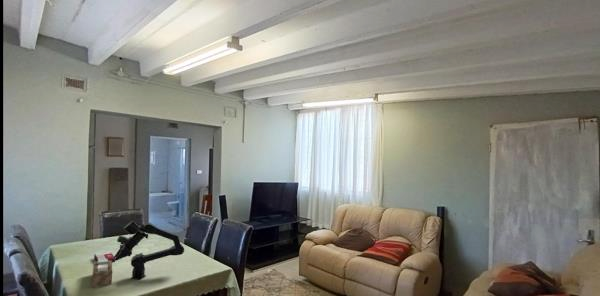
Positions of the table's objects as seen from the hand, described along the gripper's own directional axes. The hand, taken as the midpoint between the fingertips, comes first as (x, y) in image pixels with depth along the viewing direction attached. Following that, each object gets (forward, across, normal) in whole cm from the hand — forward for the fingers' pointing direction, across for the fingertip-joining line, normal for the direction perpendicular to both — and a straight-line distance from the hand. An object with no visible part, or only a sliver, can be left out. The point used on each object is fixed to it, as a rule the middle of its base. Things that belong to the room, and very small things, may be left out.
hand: (114, 258), depth 202 cm
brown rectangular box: (+14, -5, +5) cm, 16 cm away
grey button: (+9, -11, 0) cm, 14 cm away
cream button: (+9, 0, 0) cm, 9 cm away
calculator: (+14, -44, +7) cm, 46 cm away
